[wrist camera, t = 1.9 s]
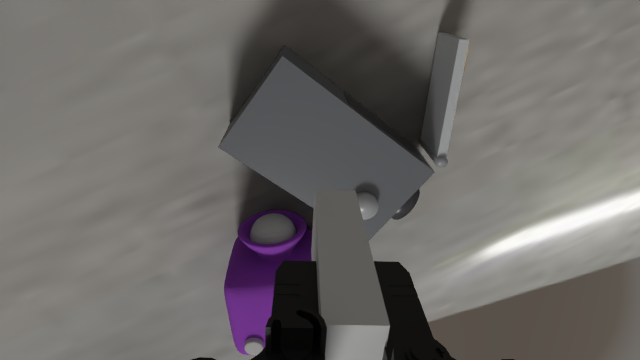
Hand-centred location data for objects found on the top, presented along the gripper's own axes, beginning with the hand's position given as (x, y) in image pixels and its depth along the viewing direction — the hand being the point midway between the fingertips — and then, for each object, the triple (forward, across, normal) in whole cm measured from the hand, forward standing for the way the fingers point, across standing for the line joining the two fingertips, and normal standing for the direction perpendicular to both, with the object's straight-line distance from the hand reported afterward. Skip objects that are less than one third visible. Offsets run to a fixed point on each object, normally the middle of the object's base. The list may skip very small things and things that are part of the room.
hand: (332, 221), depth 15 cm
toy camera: (+24, -3, -18) cm, 30 cm away
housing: (+24, +1, -5) cm, 24 cm away
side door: (+24, +11, 0) cm, 26 cm away
